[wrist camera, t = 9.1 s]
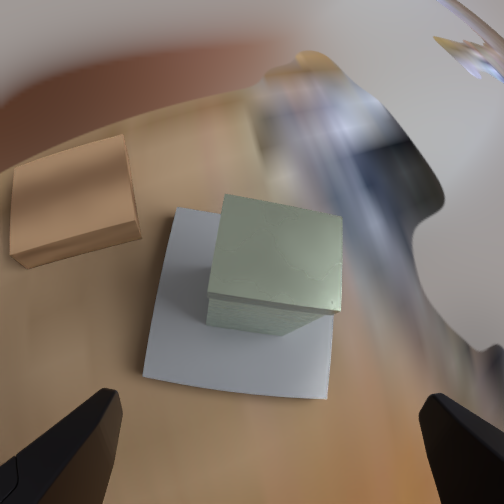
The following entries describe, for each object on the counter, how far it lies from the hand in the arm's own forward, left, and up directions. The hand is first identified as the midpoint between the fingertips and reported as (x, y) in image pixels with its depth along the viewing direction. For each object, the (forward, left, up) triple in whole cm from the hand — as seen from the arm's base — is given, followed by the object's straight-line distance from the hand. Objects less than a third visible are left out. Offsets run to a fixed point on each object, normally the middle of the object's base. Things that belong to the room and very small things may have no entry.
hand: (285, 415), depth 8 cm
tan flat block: (+4, +18, -13) cm, 23 cm away
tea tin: (+5, +2, -12) cm, 13 cm away
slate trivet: (+5, +2, -13) cm, 15 cm away
